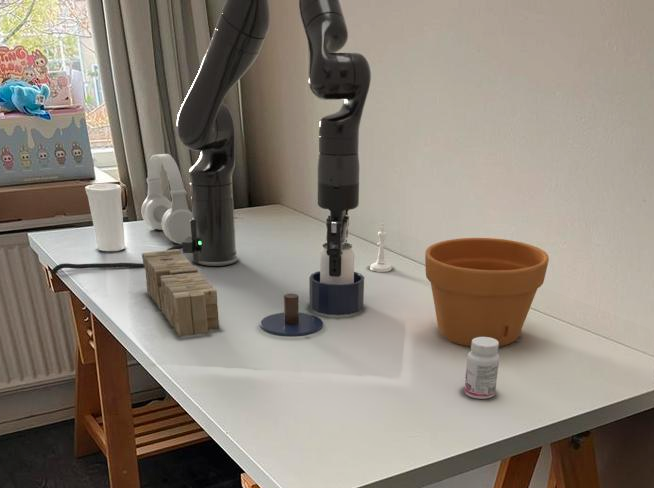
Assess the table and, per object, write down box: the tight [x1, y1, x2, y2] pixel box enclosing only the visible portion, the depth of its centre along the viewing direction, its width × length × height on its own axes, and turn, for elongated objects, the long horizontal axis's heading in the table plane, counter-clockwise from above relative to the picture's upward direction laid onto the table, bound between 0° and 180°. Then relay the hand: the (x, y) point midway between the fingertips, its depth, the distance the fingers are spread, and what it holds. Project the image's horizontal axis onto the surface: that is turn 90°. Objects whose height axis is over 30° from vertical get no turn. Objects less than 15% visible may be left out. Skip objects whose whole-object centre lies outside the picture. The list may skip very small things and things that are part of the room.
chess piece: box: [369, 222, 393, 273], centre depth 174 cm, size 5×5×10 cm
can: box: [319, 242, 355, 285], centre depth 149 cm, size 6×6×12 cm
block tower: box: [141, 249, 220, 337], centre depth 147 cm, size 8×8×29 cm
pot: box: [308, 270, 365, 316], centre depth 150 cm, size 10×10×6 cm
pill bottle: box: [463, 337, 500, 400], centre depth 117 cm, size 5×5×8 cm
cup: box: [84, 183, 126, 252], centre depth 182 cm, size 8×8×14 cm
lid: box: [259, 293, 324, 337], centre depth 141 cm, size 11×11×6 cm
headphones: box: [140, 153, 193, 245], centre depth 193 cm, size 20×8×19 cm, turn 31°
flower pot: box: [424, 237, 550, 348], centre depth 138 cm, size 21×21×15 cm
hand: (337, 269), depth 148 cm, fingers open, 7 cm apart
